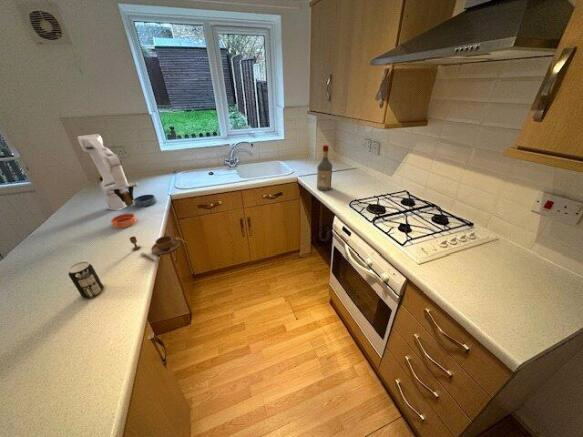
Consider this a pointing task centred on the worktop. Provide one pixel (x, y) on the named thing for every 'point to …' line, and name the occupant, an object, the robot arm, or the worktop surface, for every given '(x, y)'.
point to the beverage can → (85, 279)
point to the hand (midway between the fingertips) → (128, 200)
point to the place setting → (160, 245)
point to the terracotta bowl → (123, 221)
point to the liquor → (324, 172)
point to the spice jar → (127, 198)
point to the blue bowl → (144, 200)
